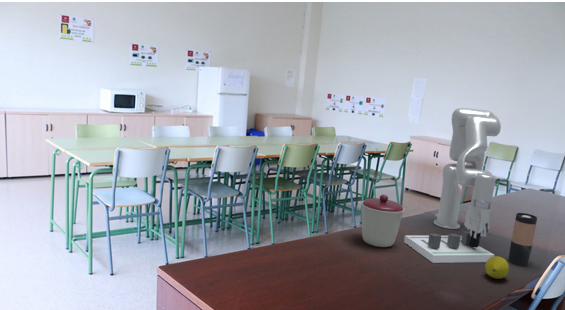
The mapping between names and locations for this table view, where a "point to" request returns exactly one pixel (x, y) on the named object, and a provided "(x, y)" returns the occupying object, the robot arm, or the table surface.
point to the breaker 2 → (453, 240)
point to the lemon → (497, 267)
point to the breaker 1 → (434, 240)
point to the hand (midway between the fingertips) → (473, 246)
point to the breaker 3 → (466, 237)
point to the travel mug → (522, 239)
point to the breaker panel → (447, 251)
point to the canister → (380, 221)
